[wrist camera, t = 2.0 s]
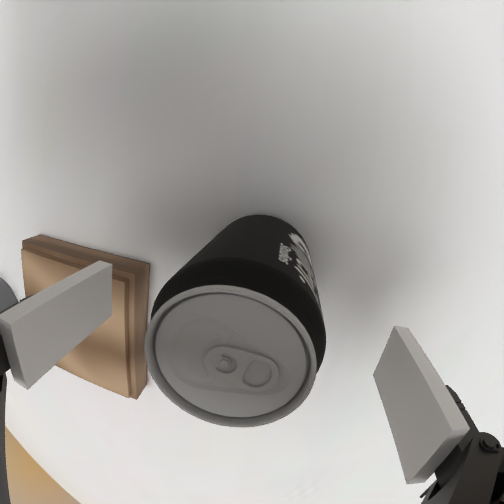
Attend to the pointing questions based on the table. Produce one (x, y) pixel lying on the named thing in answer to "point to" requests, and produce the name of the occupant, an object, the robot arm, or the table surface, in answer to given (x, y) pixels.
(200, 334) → the beverage can
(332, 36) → the table surface
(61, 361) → the stand
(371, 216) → the table surface
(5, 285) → the grey rounded cylinder
